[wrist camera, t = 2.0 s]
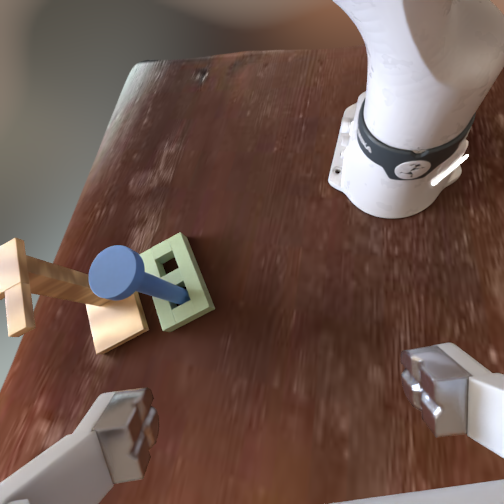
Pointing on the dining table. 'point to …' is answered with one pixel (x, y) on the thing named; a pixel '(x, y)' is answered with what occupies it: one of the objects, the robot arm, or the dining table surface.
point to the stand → (63, 287)
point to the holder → (178, 282)
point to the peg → (129, 277)
